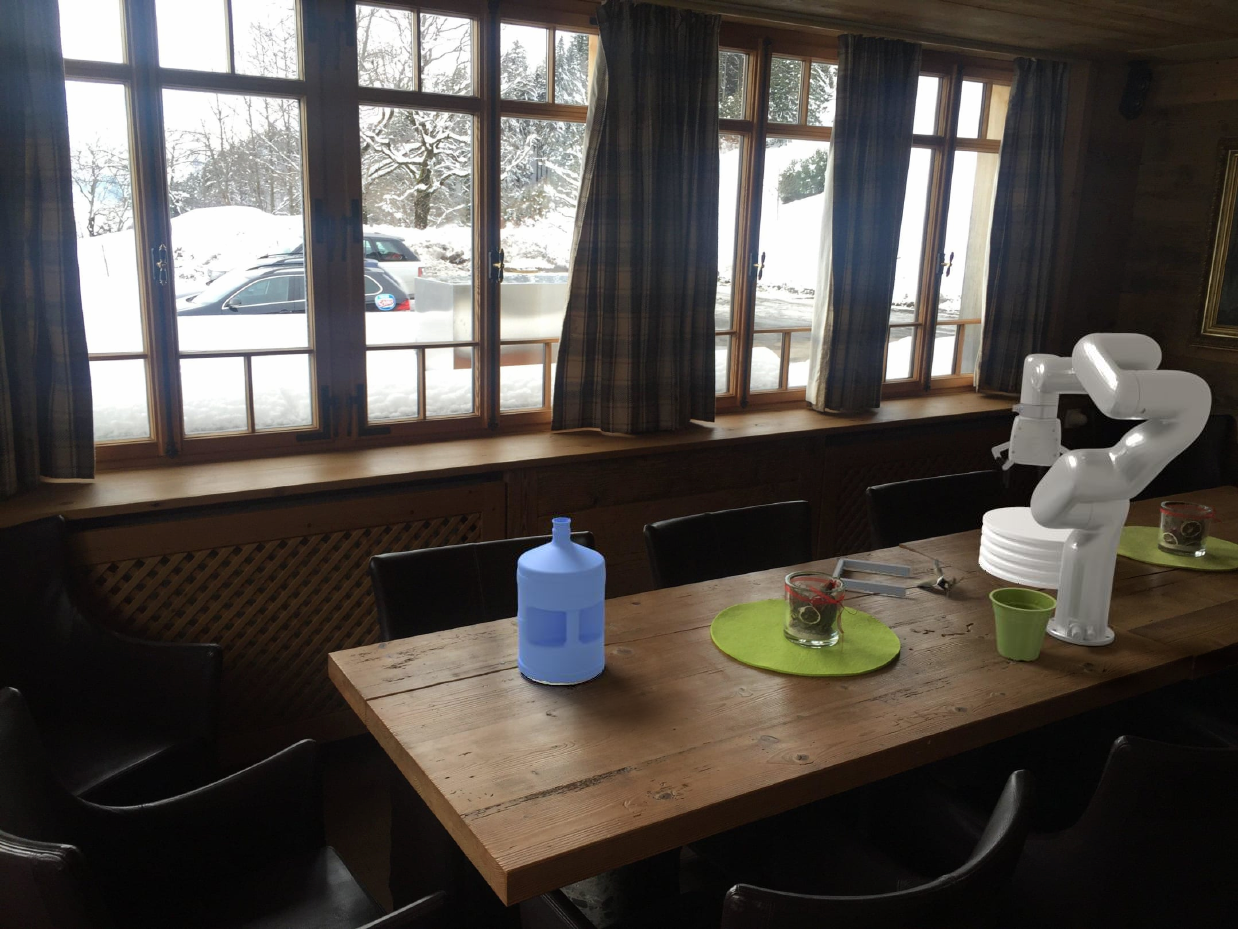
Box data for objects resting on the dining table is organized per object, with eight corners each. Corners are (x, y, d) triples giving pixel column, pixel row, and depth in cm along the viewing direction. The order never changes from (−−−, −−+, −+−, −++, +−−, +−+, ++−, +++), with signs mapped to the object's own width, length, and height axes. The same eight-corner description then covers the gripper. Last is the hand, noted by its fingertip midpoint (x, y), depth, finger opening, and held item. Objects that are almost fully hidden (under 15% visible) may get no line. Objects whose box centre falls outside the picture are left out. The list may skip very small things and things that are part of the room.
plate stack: (964, 549, 252) (968, 505, 250) (1076, 552, 251) (1082, 508, 249) (1000, 588, 225) (1006, 540, 222) (1127, 592, 224) (1134, 543, 221)
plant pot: (990, 637, 198) (996, 583, 195) (1055, 650, 192) (1062, 595, 189) (977, 658, 188) (983, 601, 185) (1045, 673, 182) (1052, 615, 179)
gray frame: (905, 598, 217) (906, 587, 217) (830, 589, 223) (831, 578, 222) (909, 576, 231) (910, 566, 231) (839, 568, 236) (840, 558, 236)
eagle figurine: (968, 588, 221) (938, 569, 228) (961, 567, 217) (932, 548, 224) (942, 609, 220) (913, 589, 227) (935, 588, 216) (906, 569, 223)
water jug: (508, 657, 185) (506, 512, 179) (588, 646, 191) (589, 504, 184) (531, 694, 171) (530, 537, 164) (617, 680, 176) (619, 528, 170)
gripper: (994, 411, 216) (987, 488, 219) (1082, 417, 209) (1074, 496, 213) (996, 406, 222) (989, 481, 226) (1081, 412, 216) (1072, 489, 220)
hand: (1030, 488), depth 220 cm, fingers open, 9 cm apart
